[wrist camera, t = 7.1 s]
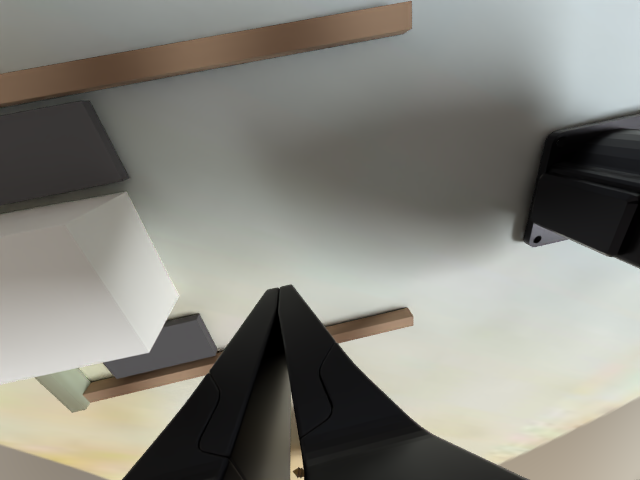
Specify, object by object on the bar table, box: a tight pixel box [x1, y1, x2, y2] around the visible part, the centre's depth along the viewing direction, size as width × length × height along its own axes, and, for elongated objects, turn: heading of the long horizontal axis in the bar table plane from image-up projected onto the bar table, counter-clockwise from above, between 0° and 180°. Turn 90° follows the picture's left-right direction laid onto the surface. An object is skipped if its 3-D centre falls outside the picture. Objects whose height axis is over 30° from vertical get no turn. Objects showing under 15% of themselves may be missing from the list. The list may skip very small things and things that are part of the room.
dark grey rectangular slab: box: [0, 101, 217, 379], centre depth 13 cm, size 6×14×1 cm, turn 10°
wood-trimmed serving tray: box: [0, 1, 413, 413], centre depth 13 cm, size 21×16×1 cm
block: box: [0, 191, 179, 385], centre depth 11 cm, size 6×6×4 cm
